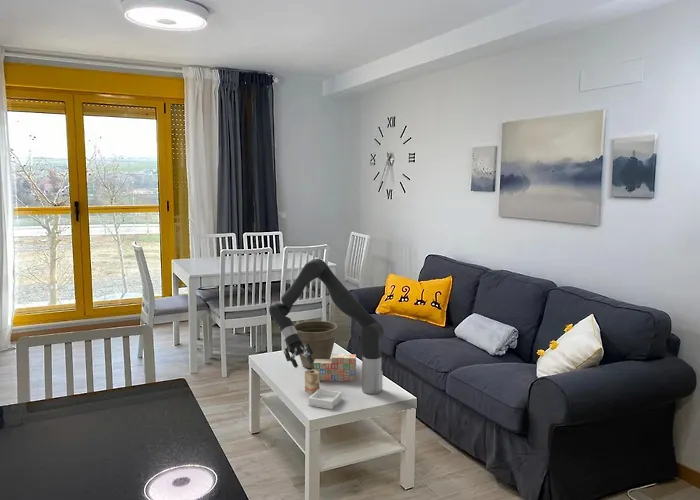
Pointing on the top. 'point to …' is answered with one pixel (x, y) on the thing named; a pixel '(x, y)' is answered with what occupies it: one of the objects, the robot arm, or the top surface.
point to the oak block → (311, 381)
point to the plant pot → (317, 339)
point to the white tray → (325, 398)
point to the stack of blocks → (337, 367)
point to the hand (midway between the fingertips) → (304, 365)
